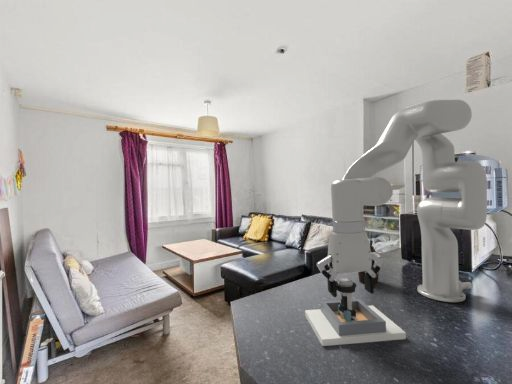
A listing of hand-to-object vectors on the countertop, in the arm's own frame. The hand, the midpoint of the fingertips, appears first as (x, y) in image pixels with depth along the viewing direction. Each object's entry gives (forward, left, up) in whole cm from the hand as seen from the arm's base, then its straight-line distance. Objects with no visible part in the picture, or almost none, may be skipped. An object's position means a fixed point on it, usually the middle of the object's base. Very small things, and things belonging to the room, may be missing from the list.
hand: (351, 293), depth 65 cm
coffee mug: (-18, -28, -9) cm, 34 cm away
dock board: (+1, 0, -8) cm, 8 cm away
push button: (+1, 0, -7) cm, 7 cm away
